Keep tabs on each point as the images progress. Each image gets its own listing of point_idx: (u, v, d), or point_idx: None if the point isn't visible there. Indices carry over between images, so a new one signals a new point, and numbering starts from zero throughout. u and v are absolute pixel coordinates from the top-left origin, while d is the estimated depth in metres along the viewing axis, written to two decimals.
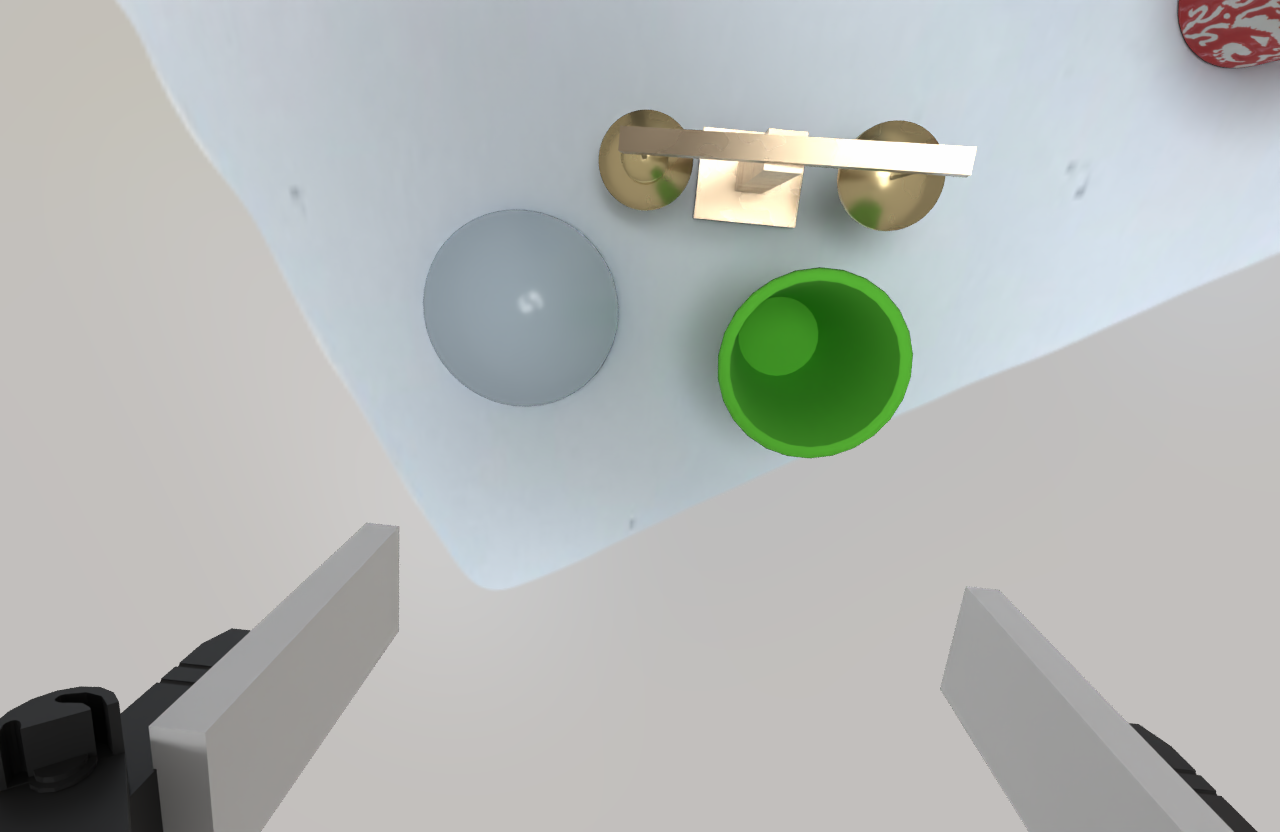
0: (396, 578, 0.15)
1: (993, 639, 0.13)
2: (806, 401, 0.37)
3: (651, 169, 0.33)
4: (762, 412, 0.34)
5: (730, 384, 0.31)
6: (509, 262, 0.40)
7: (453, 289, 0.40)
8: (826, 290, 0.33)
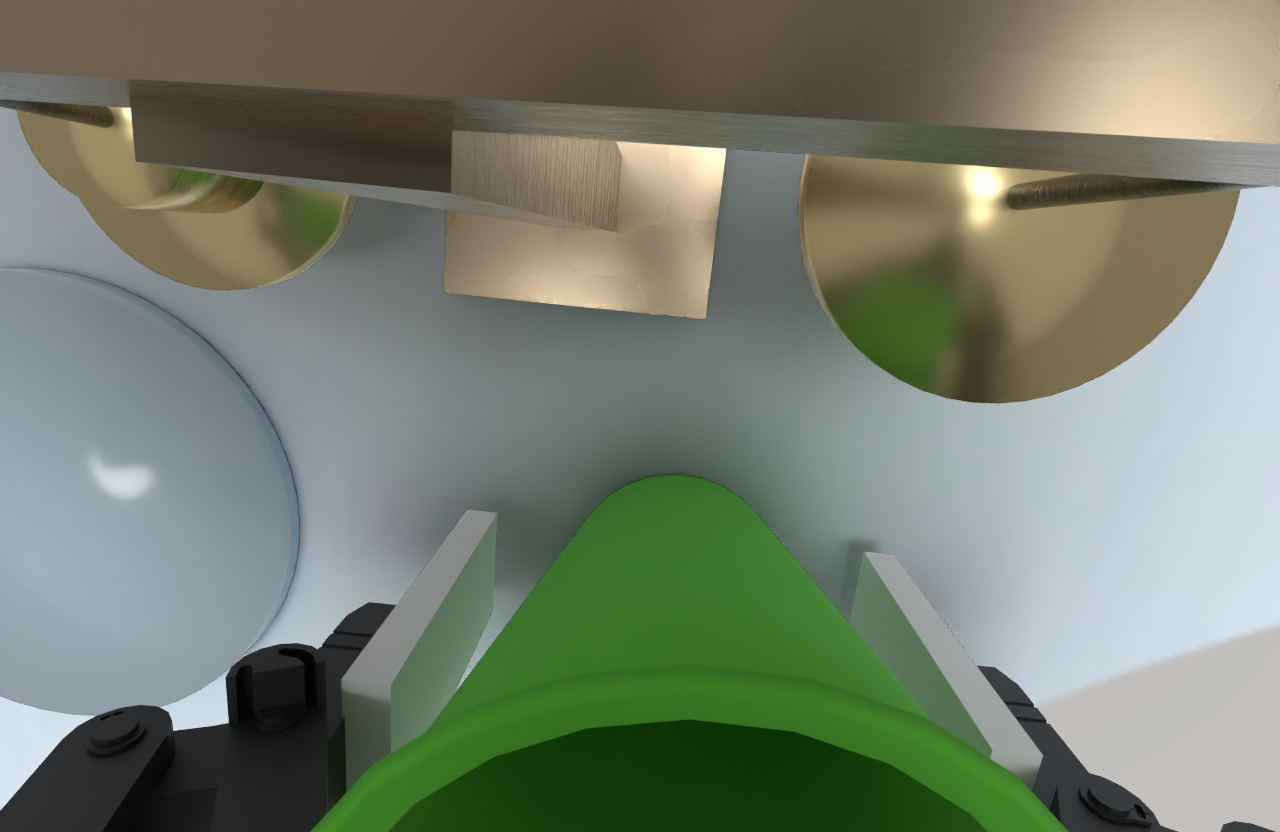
0: (493, 561, 0.16)
1: (879, 596, 0.15)
2: (722, 828, 0.13)
3: (135, 164, 0.09)
4: None
5: None
6: None
7: None
8: None
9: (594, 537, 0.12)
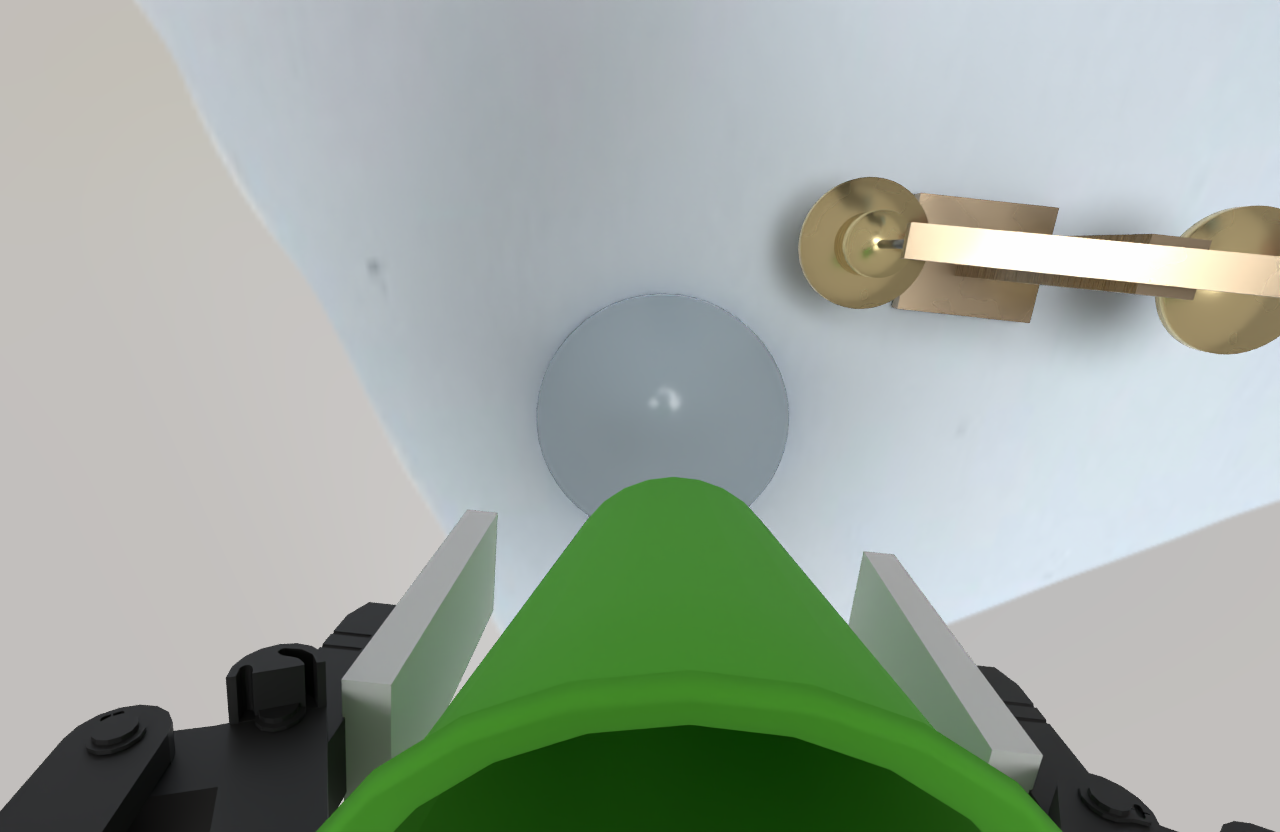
0: (494, 561, 0.16)
1: (879, 597, 0.15)
2: (722, 831, 0.13)
3: (889, 262, 0.24)
4: None
5: None
6: (652, 362, 0.31)
7: (577, 394, 0.31)
8: None
9: (594, 540, 0.12)
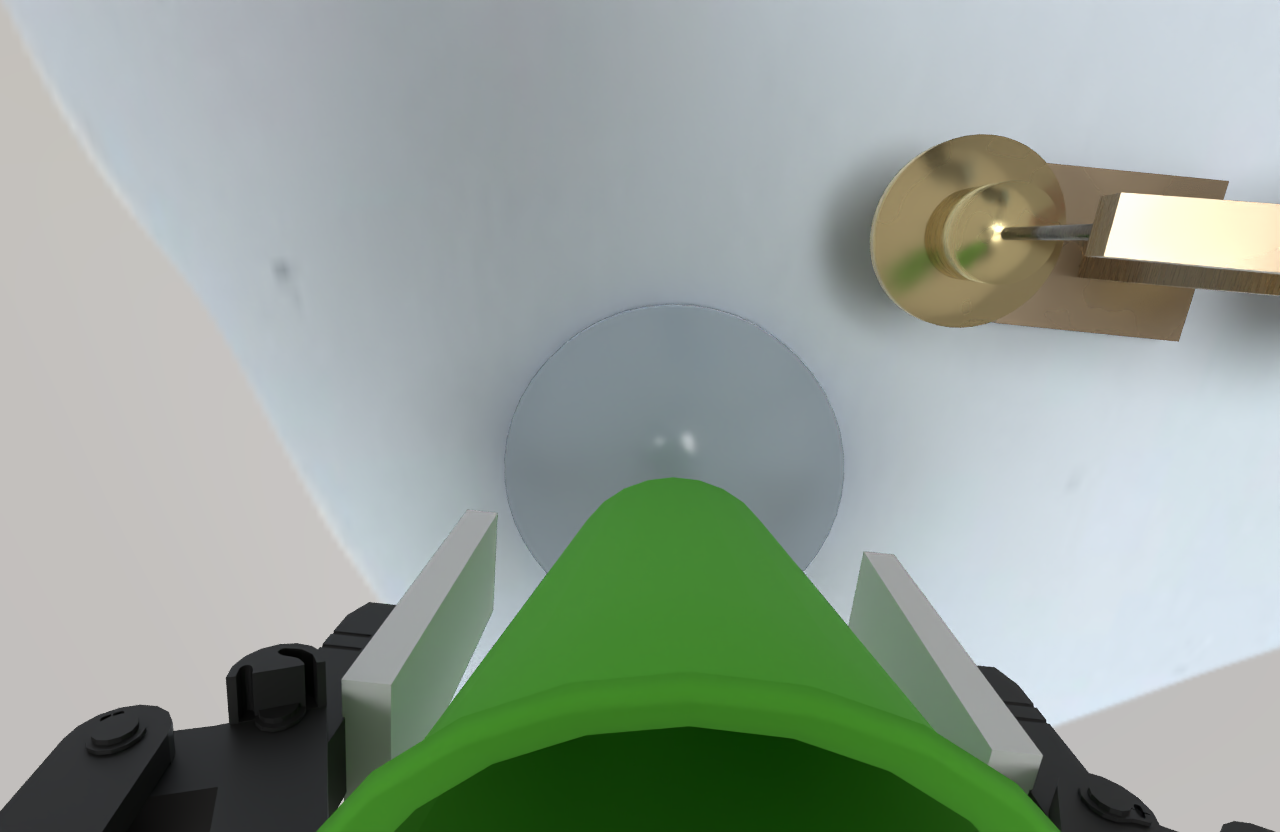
0: (494, 561, 0.16)
1: (879, 596, 0.15)
2: None
3: (1017, 260, 0.16)
4: None
5: None
6: (659, 397, 0.22)
7: (558, 440, 0.23)
8: None
9: (594, 541, 0.12)
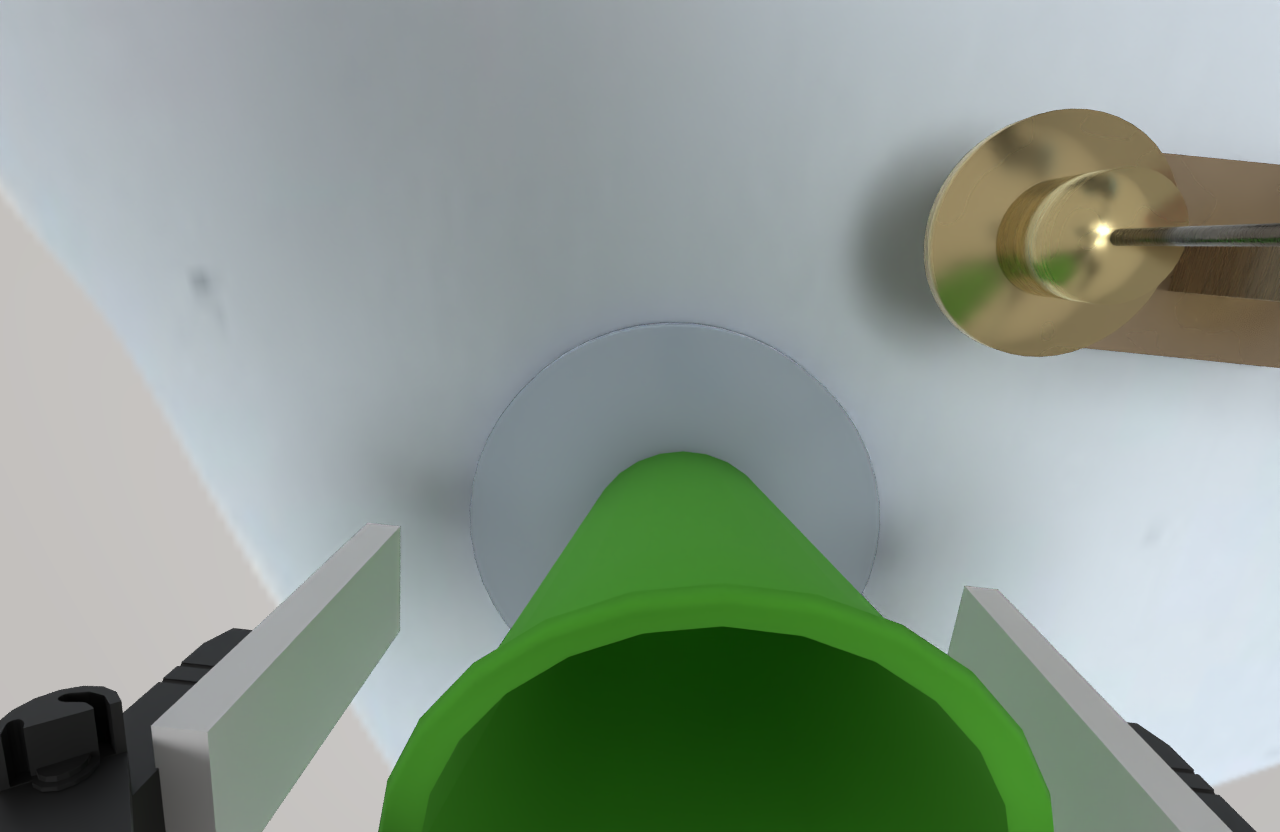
0: (397, 578, 0.15)
1: (992, 638, 0.13)
2: (726, 757, 0.15)
3: (1131, 273, 0.12)
4: None
5: None
6: (656, 435, 0.19)
7: (534, 486, 0.19)
8: None
9: (619, 502, 0.14)
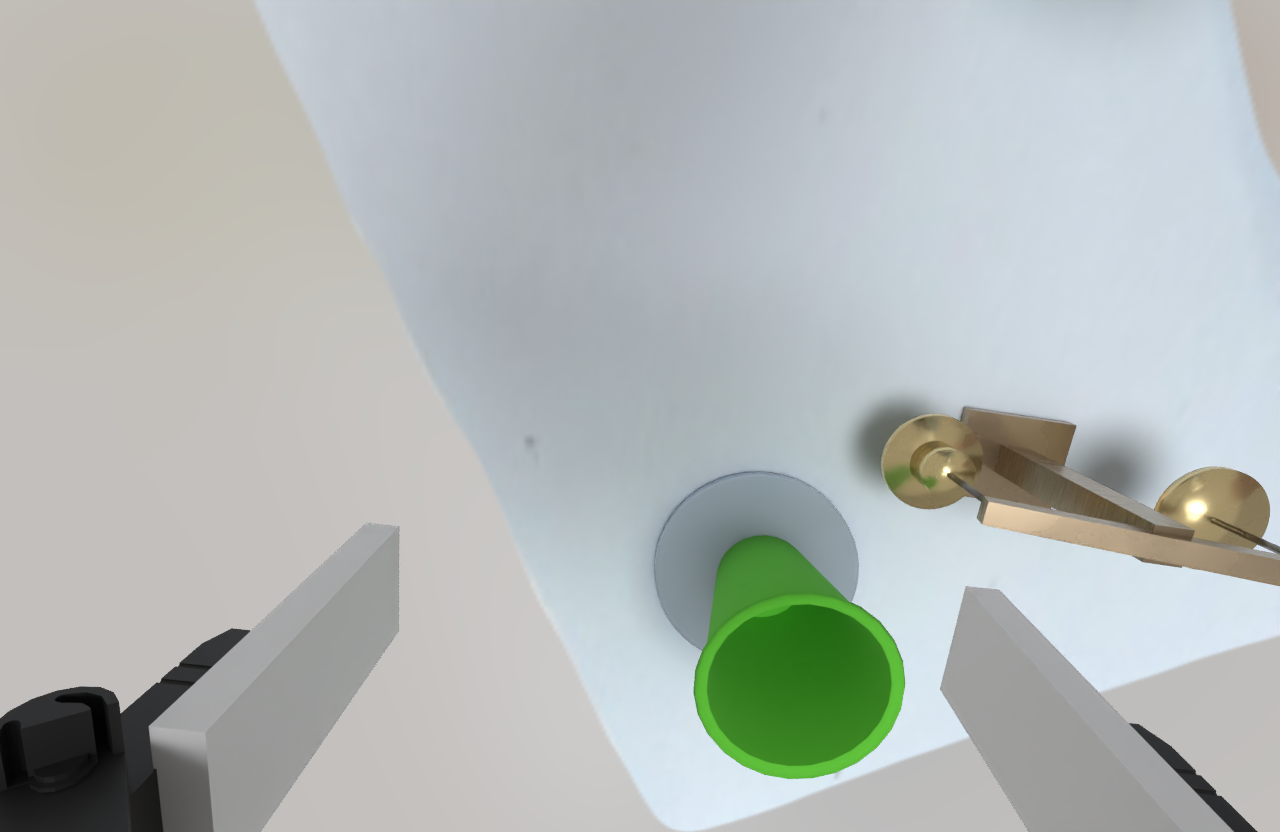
0: (396, 578, 0.15)
1: (994, 639, 0.13)
2: (787, 674, 0.34)
3: (955, 488, 0.32)
4: (739, 702, 0.32)
5: (706, 698, 0.28)
6: (752, 527, 0.38)
7: (690, 549, 0.39)
8: None
9: (750, 561, 0.34)
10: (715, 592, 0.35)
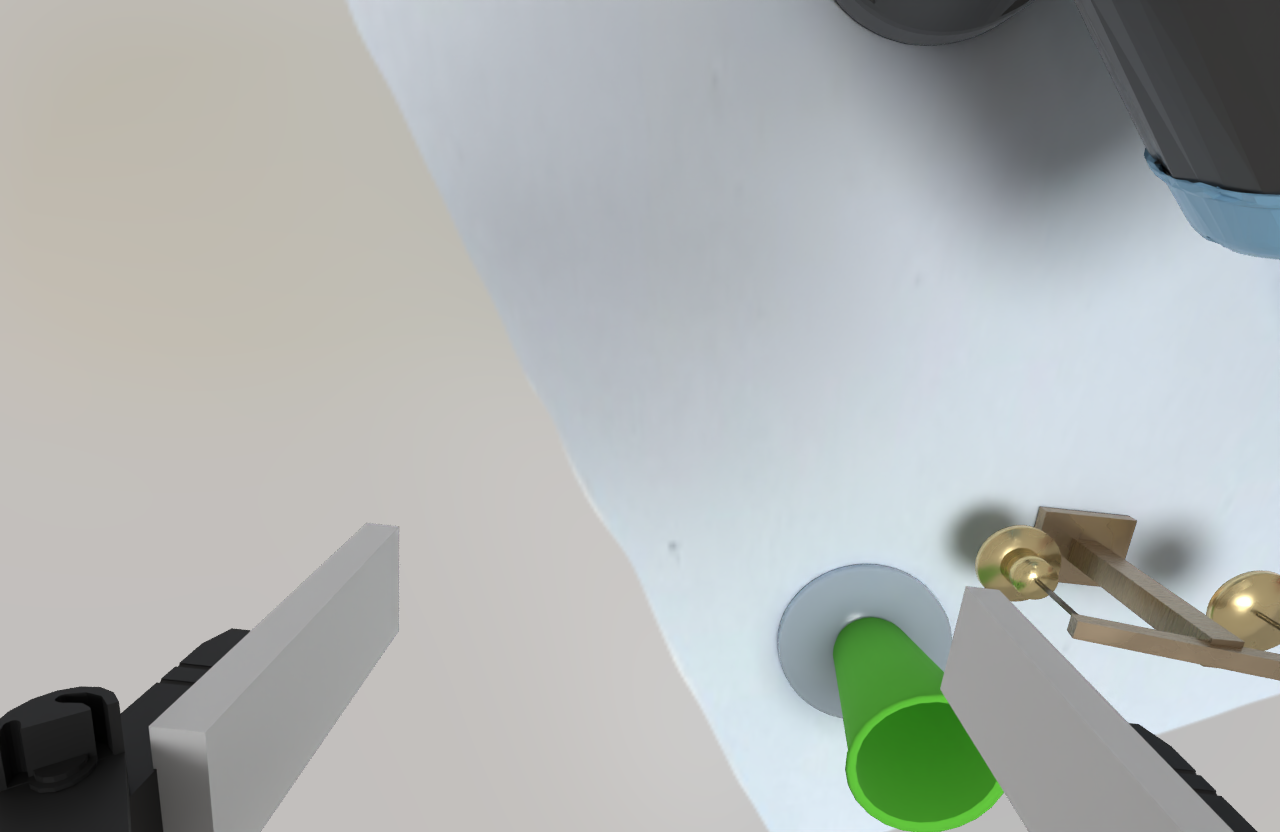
0: (396, 578, 0.15)
1: (994, 639, 0.13)
2: (903, 738, 0.42)
3: (1041, 591, 0.39)
4: (872, 767, 0.40)
5: (855, 774, 0.36)
6: (861, 610, 0.46)
7: (809, 630, 0.46)
8: None
9: (871, 650, 0.41)
10: (841, 673, 0.42)
